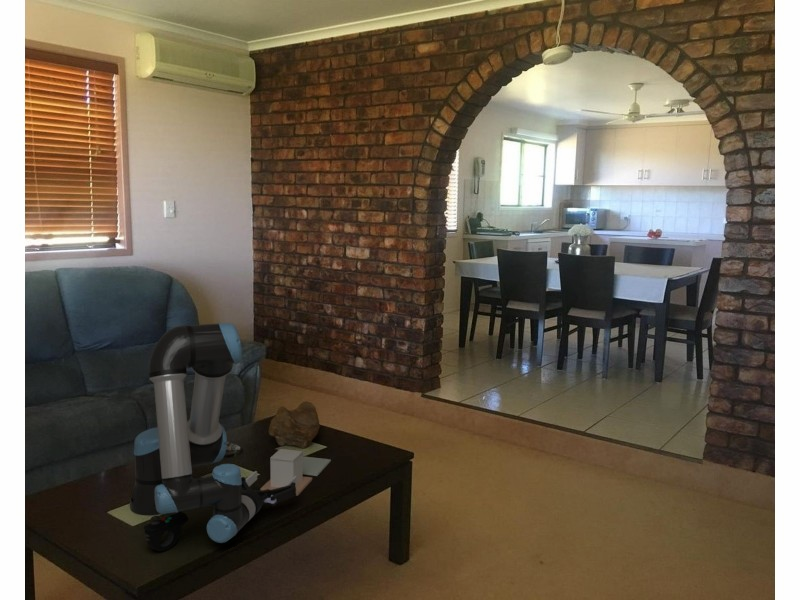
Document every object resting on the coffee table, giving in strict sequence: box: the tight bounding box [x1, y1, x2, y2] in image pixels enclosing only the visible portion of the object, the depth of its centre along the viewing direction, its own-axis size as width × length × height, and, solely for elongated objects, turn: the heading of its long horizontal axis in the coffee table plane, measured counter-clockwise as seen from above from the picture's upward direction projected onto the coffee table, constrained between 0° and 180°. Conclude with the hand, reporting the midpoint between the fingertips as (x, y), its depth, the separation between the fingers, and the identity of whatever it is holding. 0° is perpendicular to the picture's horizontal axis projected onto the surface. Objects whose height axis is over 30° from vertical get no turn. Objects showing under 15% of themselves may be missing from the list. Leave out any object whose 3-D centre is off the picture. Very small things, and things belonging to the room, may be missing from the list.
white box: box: [269, 448, 304, 488], centre depth 216 cm, size 8×8×10 cm
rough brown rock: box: [268, 401, 321, 449], centre depth 255 cm, size 23×17×15 cm
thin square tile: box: [259, 476, 313, 497], centre depth 217 cm, size 13×13×1 cm
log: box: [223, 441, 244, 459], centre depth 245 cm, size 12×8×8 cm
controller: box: [143, 511, 189, 552], centre depth 175 cm, size 4×12×10 cm, turn 146°
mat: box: [303, 456, 332, 477], centre depth 233 cm, size 14×14×1 cm
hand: (275, 477), depth 207 cm, fingers open, 13 cm apart
